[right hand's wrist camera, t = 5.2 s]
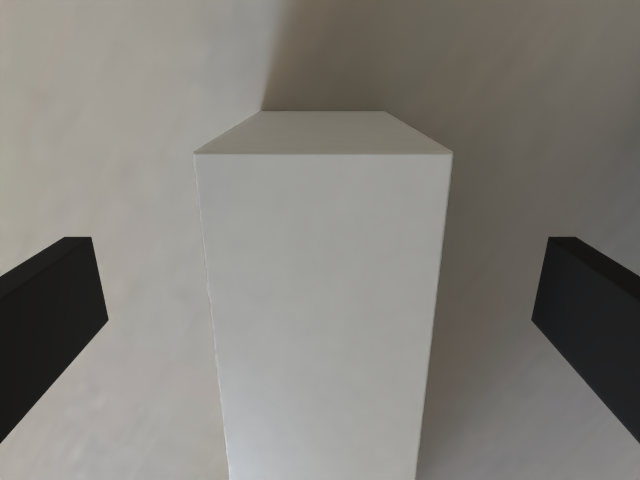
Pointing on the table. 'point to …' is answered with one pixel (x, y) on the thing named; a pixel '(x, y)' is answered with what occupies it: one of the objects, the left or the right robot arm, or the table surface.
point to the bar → (323, 290)
